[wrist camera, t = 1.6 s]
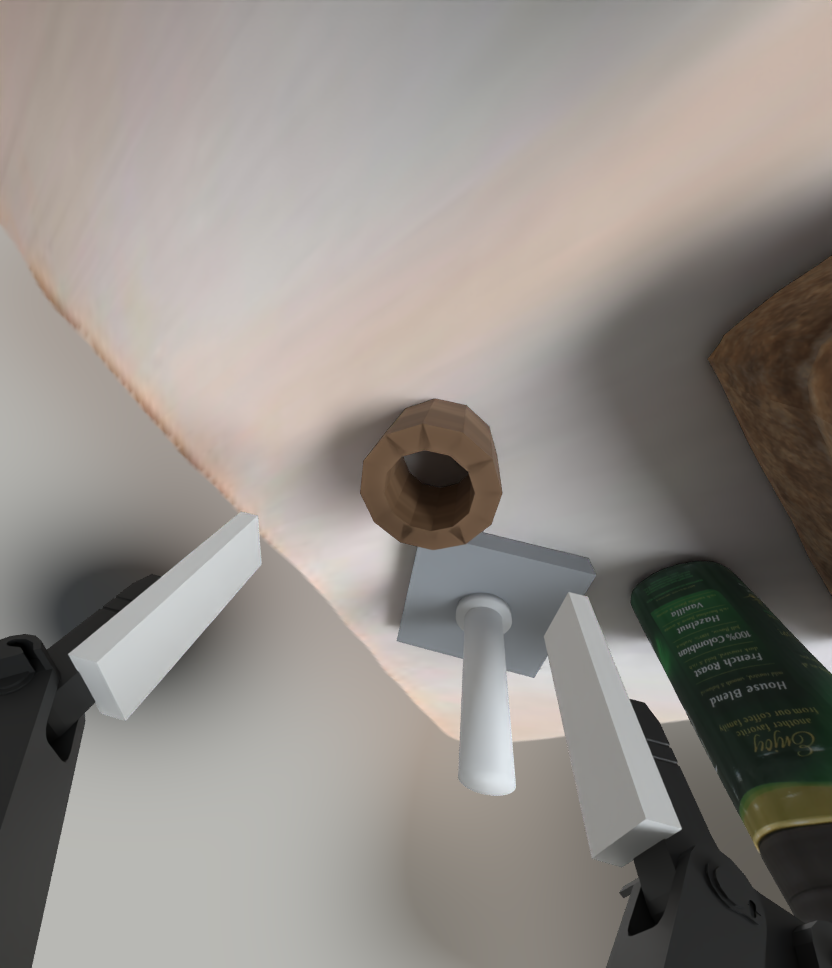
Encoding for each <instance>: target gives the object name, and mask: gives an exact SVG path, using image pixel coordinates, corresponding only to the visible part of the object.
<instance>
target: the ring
mask: <svg viewBox="0 0 832 968" xmlns="http://www.w3.org/2000/svg"><path fill="white" fill-rule="evenodd" d="M423 450H426V451H431V452H435V453H440V454H444V455H448V456H450V457H452V458H453V459H454V460H455V461H456V462H457V463H459V464H460V465H461V466H462V467H463V468H464V469H465V470H467V471H468V473H469V474H468V475H467V476H466V477H465V478H463V479H462V480H461V481H460V482H459V483H458V484H454V485H450V486H446V487H442V488H440V487H435V486H431V485H427V484H423V483H422V482H421V481H419V480H418V479H417V478H416V477H415V476H413V475H412V474H411V473H410V472H409V470H408V467H407V465H406V462H405V460H404V457H403V456H406V455H409V454H413V453H416V452H420V451H423ZM360 494H361V496H362V498H363V500H364V502H365V504H366V506H367V508H368V510H369V512H370V515H371V517H372V519H373V521H374V522H375V523H376V524H377V525H379V526H380V527H381V528H382V529H384V530H385V531H386V532H388V533H389V534H390V535H391V536H393V537H394V538H395V539H397V540H398V541H399V542H401V543H405V544H409V545H413V546H417V547H421V548H425V549H429V550H438V549H443V548H449V547H454V546H460V545H466V544H467V543H468V542H469V541H471V540H472V539H473V538H475V537H476V536H477V535H478V534H480V533H481V532H482V531H484V530H485V529H486V528H487V527H489V526H490V525H491V524H492V521H493V518H494V516H495V513H496V510H497V507H498V504H499V501H500V498H501V496H502V487H501V480H500V472H499V465H498V458H497V453H496V449H495V446H494V442H493V438H492V435H491V431H490V427H489V426H488V425H487V424H486V423H485V422H484V421H483V420H482V419H481V418H480V417H478V416H477V415H476V414H475V413H474V412H473V411H472V410H471V409H470V408H469V407H468V406H467V405H463V404H458V403H453V402H449V401H444V400H439V399H432V400H429V401H426V402H423V403H420V404H417V405H414V406H411V407H408V408H406V409H405V410H404V411H403V412H402V414H401V415H400V416H399V417H398V418H397V420H396V421H395V422H394V423H393V424H392V425H391V427H390V428H389V429H388V430H387V431H386V433H385V434H384V435H383V436H382V438H381V439H380V440H379V442H378V443H377V444H376V445H375V447H374V448H373V449H372V451H371V452H370V453H369V454H368V456H367V457H366V458H365V460H364V461H363V470H362V480H361V490H360Z"/></svg>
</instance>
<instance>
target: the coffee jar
mask: <svg viewBox="0 0 832 968" xmlns="http://www.w3.org/2000/svg"><path fill="white" fill-rule="evenodd" d="M631 605H632V608H633V610H634V612H635V614H636V616H637V618H638V620H639V622H640V624H641V626H642V628H643V630H644V632H645V634H646V636H647V638H648V640H649V641H650V643H651V645H652V647H653V649H654V651H655V653H656V655H657V657H658V659H659V661H660V662H661V664H662V666H663V668H664V670H665V672H666V674H667V676H668V678H669V680H670V682H671V684H672V686H673V688H674V690H675V692H676V694H677V696H678V698H679V700H680V702H681V704H682V706H683V708H684V709H685V711H686V714H687V716H688V718H689V720H690V722H691V724H692V726H693V727H694V729H695V731H696V733H697V735H698V737H699V739H700V741H701V743H702V745H703V747H704V748H705V751H706V753H707V755H708V756H709V758H710V760H711V762H712V764H713V766H714V768H715V770H716V772H717V774H718V775H719V777H720V779H721V781H722V783H723V785H724V787H725V789H726V791H727V793H728V795H729V797H730V798H731V800H732V802H733V804H734V806H735V808H736V810H737V812H738V814H739V815H740V817H741V819H742V821H743V823H744V825H745V827H746V828H747V831H748V833H749V834H750V836H751V838H752V840H753V842H754V844H755V847H756V849H757V850H758V852H759V853H760V855H761V857H762V859H763V861H764V863H765V865H766V866H767V868H768V870H769V871H770V873H771V875H772V877H773V879H774V880H775V882H776V884H777V885H778V887H779V889H780V891H781V893H782V894H783V896H784V898H785V900H786V902H787V903H788V905H789V906H790V909H791V910H792V912H793V914H794V916H795V917H796V918H798V919H799V920H801V921H802V922H804V923H806V924H807V923H810V922H814V921H817V920H818V921H828V922H830V923H832V674H831V673H830V672H829V671H828V670H827V669H826V668H825V667H824V666H823V665H822V664H821V663H820V662H819V661H818V660H817V659H816V658H815V657H814V656H813V655H812V654H811V653H810V652H809V651H808V650H807V649H806V647H805V646H804V645H803V644H802V643H801V642H800V641H799V640H798V639H797V638H796V637H795V636H794V635H793V634H792V633H791V632H790V631H789V630H788V629H787V628H786V627H785V626H784V625H783V624H782V623H781V621H780V620H779V619H778V618H777V617H776V616H775V615H774V614H773V613H772V612H771V611H770V610H769V609H768V607H767V606H766V605H765V604H764V603H763V602H762V601H761V600H760V599H759V598H758V597H757V596H756V595H755V594H754V593H753V592H752V591H751V590H750V589H749V588H748V587H747V586H746V585H745V584H744V583H743V582H742V581H741V580H740V579H739V578H738V577H737V576H736V575H735V574H734V573H733V572H732V571H731V570H730V569H728V568H727V567H725V566H723V565H721V564H718V563H715V562H708V561H697V562H690V563H685V564H679V565H675V566H672V567H669V568H666V569H663V570H661V571H659V572H657V573H655V574H652V575H651V576H649V577H648V578H647V579H645V580H644V581H642V582H641V583H640V584H638V585H637V586H636V588H635V589H634V590H633V591H632V594H631Z"/></svg>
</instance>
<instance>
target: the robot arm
mask: <svg viewBox="0 0 832 968" xmlns="http://www.w3.org/2000/svg"><path fill="white" fill-rule="evenodd" d="M261 564H262V563H261V551H260V537H259V524H258V516H257V515H253V514H249V513H245V512H240V513H238V514H237V515H236V516H235V517H234V518H232V519H231V520H230V521H229V522H228V523H226V524H225V525H224V526H223V527H221V528H220V529H219V530H218V531H217V532H215V533H214V534H213V535H212V536H211V537H209V538H208V539H207V540H206V541H205V542H203V543H202V544H201V545H200V546H199V547H197V548H196V549H195V550H194V551H193V552H191V553H190V554H189V555H188V556H186V557H185V558H184V559H183V560H182V561H180V562H179V563H178V564H177V565H176V566H174V567H173V568H172V569H171V570H169V571H168V572H167V573H166V574H165V575H163V576H162V577H161V576H157V575H153V574H151V575H149V576H147V577H145V578H143V579H141V580H139V581H137V582H135V583H133V584H131V585H130V586H129V587H127V588H126V589H125V590H123V592H121V593H120V594H118V595H117V597H116V598H115V599H112V600H111V601H109V602H108V603H107V604H105V605H104V606H103V608H102V609H99V610H98V611H96V612H95V613H94V614H93V615H91V616H90V617H89V618H87V619H86V620H85V621H83V622H82V623H81V624H80V625H79V626H77V627H76V628H74V629H73V630H72V631H71V632H69V633H68V634H67V635H65V636H64V637H63V638H62V639H61V640H59V641H58V642H56V643H55V644H54V645H53V646H51V647H50V648H49V649H47V650H46V648H45V647H44V645H43V643H42V641H41V640H40V639H39V638H38V637H36V636H34V635H28V634H23V635H15V636H9V637H7V638H4V639H1V640H0V968H32V963H33V959H34V954H35V950H36V945H37V940H38V936H39V931H40V927H41V922H42V918H43V913H44V908H45V904H46V899H47V895H48V890H49V886H50V881H51V876H52V872H53V867H54V863H55V858H56V853H57V849H58V844H59V839H60V835H61V830H62V825H63V821H64V817H65V812H66V807H67V803H68V798H69V793H70V789H71V785H72V780H73V775H74V771H75V766H76V761H77V757H78V753H79V748H80V743H81V739H82V734H83V730H84V725H85V712H86V711H87V710H88V709H89V708H90V707H91V706H92V705H93V704H94V703H95V704H96V705H97V707H98V709H99V711H100V713H101V714H104V715H107V716H111V717H114V718H117V719H121V720H124V721H126V720H127V718H129V716H130V715H131V714H132V713H133V712H134V711H135V710H136V708H137V707H138V706H139V705H140V704H141V703H142V702H143V700H144V699H145V698H146V697H147V696H148V695H149V693H150V692H151V691H152V690H153V689H154V688H155V687H156V685H157V684H158V683H159V682H160V681H161V680H162V679H163V677H164V676H165V675H166V674H167V673H168V672H169V670H170V669H171V668H172V667H173V666H174V664H176V662H177V661H178V660H179V659H180V658H181V657H182V655H183V654H184V653H185V652H186V651H187V650H188V648H189V647H190V646H191V645H192V644H193V643H194V641H195V640H196V639H197V638H198V637H199V636H200V635H201V633H202V632H203V631H204V630H205V629H206V628H207V627H208V625H209V624H210V623H211V622H212V621H213V620H214V619H215V617H216V616H217V615H218V614H219V613H220V612H221V610H222V609H223V608H224V607H225V606H226V605H227V604H228V602H229V601H230V600H231V599H232V598H233V597H234V595H235V594H236V593H237V592H238V591H239V590H240V588H241V587H242V586H243V585H244V584H245V583H246V582H247V580H248V579H249V578H250V577H251V576H252V575H253V574H254V572H255V571H256V570H257V569H258V568H259V567H260V565H261ZM544 640H545V644H546V649H547V653H548V658H549V663H550V667H551V672H552V677H553V681H554V686H555V691H556V695H557V700H558V704H559V709H560V714H561V718H562V723H563V728H564V732H565V737H566V741H567V746H568V751H569V755H570V760H571V765H572V769H573V773H574V778H575V782H576V787H577V792H578V797H579V802H580V806H581V811H582V815H583V820H584V825H585V829H586V834H587V838H588V843H589V848H590V852H591V857H592V859H595V860H598V861H602V862H605V863H609V864H612V865H616V866H619V867H623V866H625V865H626V864H628V863H629V862H631V861H633V860H634V863H635V867H636V870H637V873H638V876H639V878H637V879H635V880H634V881H632V882H630V883H628V884H627V885H625V886H624V887H623V888H622V890H621V891H620V892H619V893H620V894H621V895H622V897H623V898H625V897H627V896H629V895H630V897H629V900H628V903H627V907H626V909H625V912H624V915H623V918H622V921H621V924H620V927H619V930H618V933H617V936H616V939H615V942H614V945H613V948H612V951H611V954H610V957H609V960H608V963H607V966H606V968H832V923H830V922H828V921H818V920H817V921H814V922H810V923H807V924H806V923H804V922H802V921H801V920H799V919H798V918H796V917H795V916H793V915H792V914H790V913H789V912H787V911H786V910H784V909H783V908H781V907H780V906H778V905H777V904H775V903H774V902H772V901H771V900H769V899H768V898H766V897H765V896H763V895H762V894H760V893H759V892H758V891H756V890H755V889H754V888H753V887H752V886H751V884H750V883H749V881H748V879H747V878H746V876H745V875H744V874H743V873H742V871H741V870H740V869H739V868H738V867H737V866H736V865H735V864H734V862H733V861H732V860H731V859H730V858H728V857H727V856H726V855H724V854H723V853H722V852H721V851H720V850H719V849H718V847H717V845H716V843H715V842H714V840H713V838H712V836H711V834H710V832H709V830H708V827H707V825H706V823H705V821H704V819H703V816H702V814H701V812H700V810H699V808H698V806H697V803H696V801H695V799H694V797H693V795H692V792H691V790H690V788H689V786H688V784H687V781H686V779H685V777H684V775H683V773H682V771H681V768H680V766H678V765H677V759H676V757H675V755H674V753H673V751H672V749H671V748H670V747H669V742H668V740H667V738H666V735H665V733H664V731H663V729H662V727H661V724H660V722H659V721H658V720H657V718H656V717H655V716H654V714H653V713H652V712H651V710H650V709H649V708H648V706H647V705H646V704H645V703H643V702H640V701H636V700H632V699H629V697H628V694H627V692H626V690H625V687H624V685H623V682H622V680H621V677H620V675H619V672H618V670H617V667H616V665H615V662H614V660H613V657H612V655H611V653H610V650H609V648H608V645H607V643H606V640H605V638H604V635H603V633H602V630H601V628H600V625H599V623H598V620H597V618H596V615H595V613H594V611H593V608H592V606H591V603H590V601H589V598H588V597H587V596H583V595H579V594H575V593H571V592H568V594H567V596H566V597H565V599H564V601H563V603H562V604H561V606H560V608H559V610H558V612H557V613H556V615H555V617H554V619H553V621H552V622H551V624H550V626H549V628H548V630H547V631H546V633H545V635H544Z"/></svg>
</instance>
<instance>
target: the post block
mask: <svg viewBox="0 0 832 968" xmlns="http://www.w3.org/2000/svg"><path fill="white" fill-rule="evenodd" d="M595 577H596V573H595V571H594V569H593V567H592V564H591V562H590V560H589V558H586V557H582V556H578V555H573V554H569V553H565V552H561V551H557V550H553V549H548V548H544V547H540V546H536V545H532V544H528V543H524V542H519V541H515V540H511V539H507V538H503V537H499V536H495V535H490V534H486V533H482V532H481V533H480V534H478V535H477V536H476V537H475V538H473V539H472V540H471V541H469V542H468V543H467V544H466V545H460V546H454V547H449V548H443V549H438V550H429V549H425V548H421V547H418V548H417V552H416V557H415V561H414V566H413V570H412V574H411V579H410V583H409V588H408V592H407V597H406V601H405V606H404V610H403V615H402V619H401V624H400V628H399V633H398V637H397V641H398V642H402V643H406V644H409V645H413V646H417V647H421V648H424V649H428V650H432V651H435V652H439V653H443V654H447V655H450V656H454V657H458V658H462V659H463V675H462V699H461V723H460V747H459V773H458V778H459V781H460V782H461V783H462V784H463V785H464V786H465V787H467V788H468V789H470V790H472V791H475V792H478V793H481V794H485V795H493V796H494V795H495V796H497V795H498V796H499V795H506V794H509V793H511V792H513V791H514V790H515V787H516V785H515V771H514V759H513V747H512V734H511V722H510V710H509V697H508V685H507V673H506V671H510V672H514V673H518V674H521V675H525V676H529V677H532V678H534V677H535V676H536V674H537V672H538V671H539V669H540V667H541V666H542V664H543V662H544V661H545V659H546V657H547V656H548V653H547V649H546V644H545V640H544V635H545V633H546V631H547V630H548V628H549V626H550V624H551V622H552V621H553V619H554V617H555V615H556V613H557V612H558V610H559V608H560V606H561V604H562V603H563V601H564V599H565V597H566V596H567V594H568V592H571V593H575V594H579V595H583V596H584V595H585V593H586V591H587V590H588V588H589V587H590V585H591V583H592V582H593V580H594V578H595Z"/></svg>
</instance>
